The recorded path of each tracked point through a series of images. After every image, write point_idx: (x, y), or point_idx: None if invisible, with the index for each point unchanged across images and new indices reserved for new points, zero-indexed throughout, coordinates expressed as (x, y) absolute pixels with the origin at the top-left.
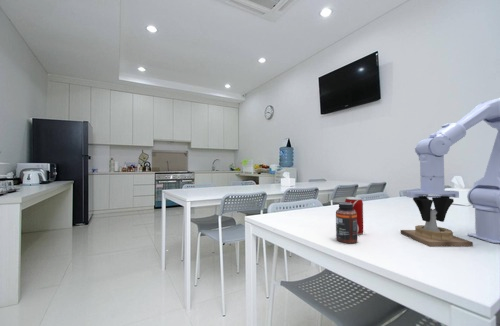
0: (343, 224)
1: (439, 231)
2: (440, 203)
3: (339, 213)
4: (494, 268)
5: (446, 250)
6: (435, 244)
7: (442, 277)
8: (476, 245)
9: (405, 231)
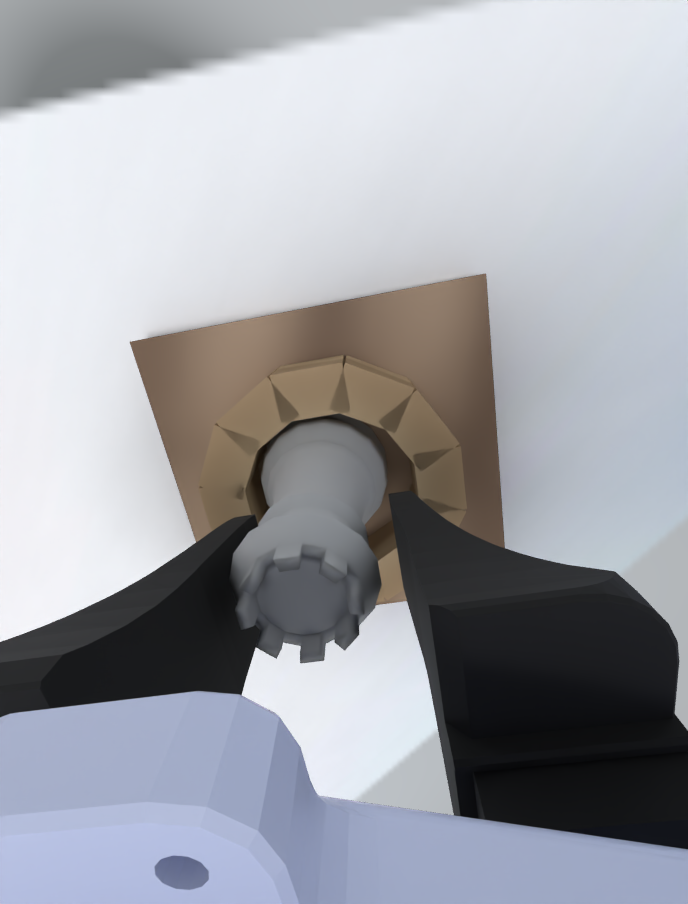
0: None
1: (363, 523)
2: (439, 725)
3: None
4: (353, 798)
5: (291, 650)
6: None
7: None
8: (541, 547)
9: (158, 388)
